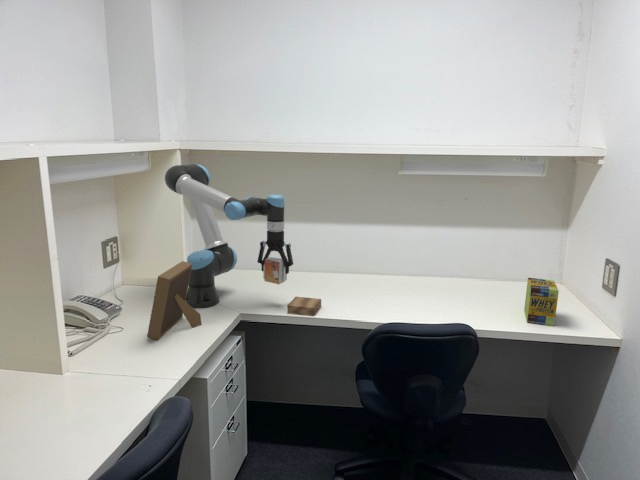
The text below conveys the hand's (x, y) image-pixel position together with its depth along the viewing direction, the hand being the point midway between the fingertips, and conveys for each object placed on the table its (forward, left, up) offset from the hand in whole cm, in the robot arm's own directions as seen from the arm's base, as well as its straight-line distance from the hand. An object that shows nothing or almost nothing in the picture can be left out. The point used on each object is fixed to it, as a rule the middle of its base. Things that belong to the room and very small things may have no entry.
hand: (275, 279), depth 204 cm
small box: (0, 0, -1) cm, 1 cm away
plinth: (+15, -2, -13) cm, 19 cm away
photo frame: (-27, -36, -12) cm, 47 cm away
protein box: (+114, +16, -13) cm, 115 cm away
